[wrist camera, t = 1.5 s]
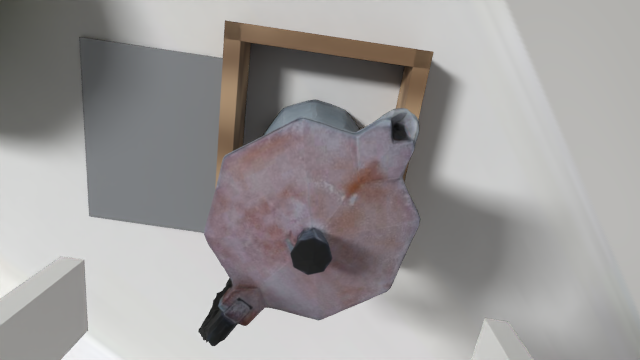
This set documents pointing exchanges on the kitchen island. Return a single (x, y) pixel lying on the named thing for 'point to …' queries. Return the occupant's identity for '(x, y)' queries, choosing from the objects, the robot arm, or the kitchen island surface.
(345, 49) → the brown wooden frame
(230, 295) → the moka pot
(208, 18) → the kitchen island surface
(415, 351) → the kitchen island surface
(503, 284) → the kitchen island surface
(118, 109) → the mat
